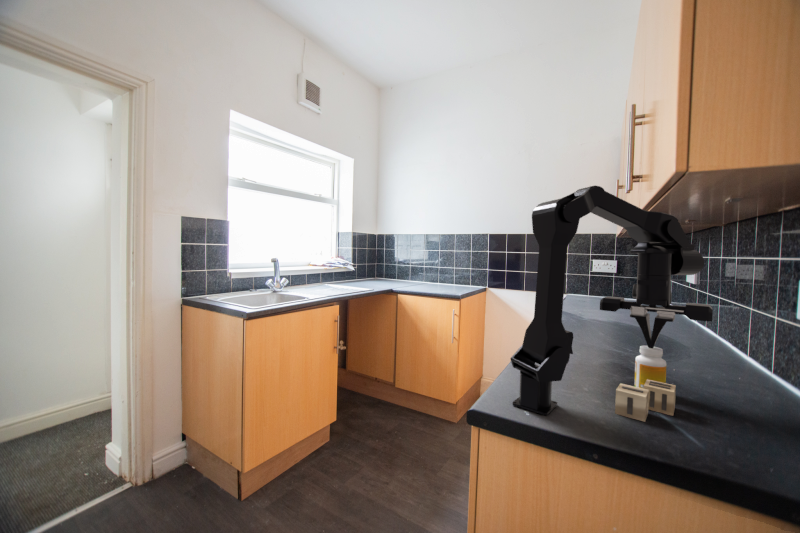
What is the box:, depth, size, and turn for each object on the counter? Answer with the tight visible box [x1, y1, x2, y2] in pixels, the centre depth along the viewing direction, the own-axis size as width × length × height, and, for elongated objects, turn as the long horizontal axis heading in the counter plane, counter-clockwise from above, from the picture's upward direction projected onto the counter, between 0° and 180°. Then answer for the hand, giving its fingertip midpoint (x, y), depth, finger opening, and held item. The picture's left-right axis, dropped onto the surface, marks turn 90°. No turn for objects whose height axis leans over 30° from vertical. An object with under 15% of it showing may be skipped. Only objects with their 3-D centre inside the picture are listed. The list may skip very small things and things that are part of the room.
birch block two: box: [644, 379, 677, 416], centre depth 64 cm, size 5×4×5 cm
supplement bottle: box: [633, 344, 667, 389], centre depth 72 cm, size 5×5×10 cm
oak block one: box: [614, 382, 649, 423], centre depth 62 cm, size 5×4×5 cm
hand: (650, 347), depth 71 cm, fingers closed, pressing on supplement bottle
